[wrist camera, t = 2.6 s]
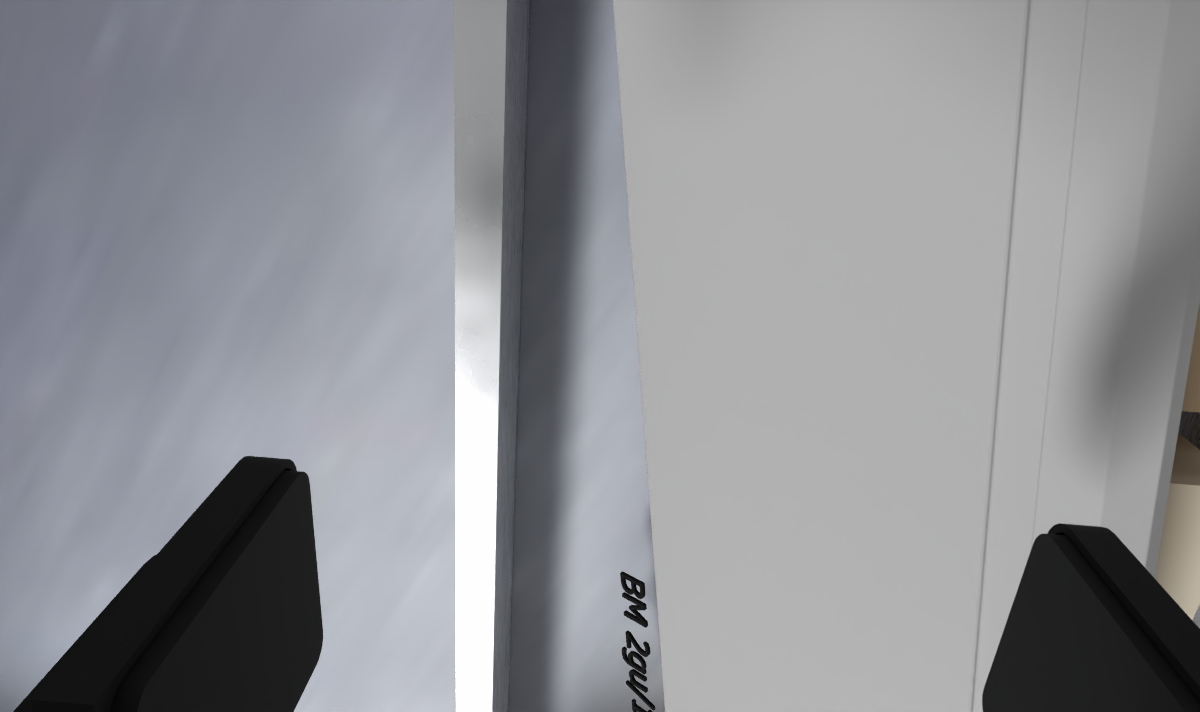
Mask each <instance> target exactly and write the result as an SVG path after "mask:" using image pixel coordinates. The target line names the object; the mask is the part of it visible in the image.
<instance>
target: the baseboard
mask: <svg viewBox="0 0 1200 712" xmlns="http://www.w3.org/2000/svg"><path fill="white" fill-rule="evenodd" d="M613 8H614V21H615V35H616V49H617V62H618V76H619V90H620V103H621V117H622V131H623V144H624V158H625V172H626V185H627V199H628V213H629V226H630V240H631V254H632V267H633V281H634V295H635V308H636V322H637V336H638V349H639V363H640V376H641V390H642V404H643V417H644V431H645V445H646V458H647V472H648V486H649V499H650V513H651V527H652V540H653V554H654V568H655V581H656V595H657V609H658V622H659V636H660V650H661V663H662V677H663V690H664V704H665V712H983V708H982V694H983V690H984V686H985V683H986V680H987V678H988V675H989V672H990V669H991V666H992V663H993V660H994V657H995V654H996V651H997V648H998V645H999V642H1000V639H1001V637H1002V634H1003V631H1004V628H1005V625H1006V622H1007V619H1008V616H1009V613H1010V610H1011V607H1012V604H1013V601H1014V598H1015V596H1016V593H1017V590H1018V587H1019V584H1020V581H1021V578H1022V575H1023V572H1024V569H1025V566H1026V563H1027V560H1028V557H1029V555H1030V552H1031V549H1032V546H1033V543H1034V541H1035V539H1036V538H1037V537H1038V536H1039V535H1040V534H1043V533H1045V534H1047V533H1048V531H1049V530H1050V529H1051V528H1052V527H1053V526H1054V525H1056V524H1059V523H1062V524H1074V525H1086V526H1098V527H1105V528H1108V529H1110V530H1111V531H1112V532H1113V533H1115V535H1116V536H1117V537H1118V538H1119V539H1120V540H1121V541H1122V542H1123V544H1124V545H1125V546H1126V547H1127V548H1128V549H1129V550H1130V551H1131V552H1132V554H1133V555H1134V556H1135V557H1136V558H1137V559H1138V560H1139V561H1140V563H1141V564H1142V565H1143V566H1144V567H1145V568H1146V569H1147V570H1148V571H1149V573H1150V574H1151V575H1152V576H1153V577H1154V578H1155V573H1156V566H1157V560H1158V554H1159V548H1160V542H1161V536H1162V530H1163V523H1164V517H1165V511H1166V505H1167V499H1168V493H1169V487H1170V480H1171V474H1172V468H1173V462H1174V456H1175V450H1176V443H1177V437H1178V431H1179V425H1180V419H1181V413H1182V407H1183V400H1184V394H1185V388H1186V382H1187V376H1188V370H1189V364H1190V357H1191V351H1192V345H1193V339H1194V333H1195V327H1196V320H1197V314H1198V308H1199V302H1200V0H613ZM620 575H621V584H622V587H623V589H624V590H625V592H627V593H628V594H627V593H625V592H624V593H622V597H624V598H625V599H627V600H629V601H631V602H633V603H634V604H636V605H631V606H629V609H630V610H631V611H632V612H633V613H634V614H635V615H636V616H635V615H633V614H631V613H630V612H628V611H624V615H625V616H626V617H628V618H630V619H632V620H633V621H635V622H637V623H638V624H640V625H642V626H644V627H645V628H646V627H647V626H648V621H647V620H646V619H645V618H644V617H643V616H642V615H641V614H640V613H639V612H638V611H637V610H646V609H647V608H646V604H645V603H643V602H641V601H640V600H638V599H636V598H634V597H632V596H630V595H632V594H633V593H634V594H635V595H636V597H637V598H639V599H642V598H643V597H645V583H644V582H642V581H640V580H638V579H636V578H634V577H632V576H630V575H628V574H627V573H625V572H623V571H622V572H621V573H620ZM626 579H627V580H629V581H630V582H631V588H632V589H630V588H629V587H628V586H627V584H626ZM636 585H638V586H640V593H639V592H638V591H637V588H636ZM629 594H630V595H629ZM626 642H627V647H628V648H631V642H632V643H633V645H634V647H635V648H636V650H637V651H638V652H639V653H640V654H641V655H642V656H644V657H647V656H648V655H649V654H650V647H649V644H648V643H647V642H644V643H643V644H644V646H645V651H644V650H643V649H642V648H641V647H640V646H639V644H638V643H637V641H636V640H635V638H634V637H633V635H632V634H631V632H629V631H626ZM626 651H627V648H626V647H623V648H622V656H623V659H624V660H625V662H626V663H627V664H629V665H630V666H632V667H633V668H635V669H636V670H638V671H639V672H641V673H643V674H646V662H645V660H644V659H643V657H642V656H641V655H640V654H638V653H637V652H635V651H631V652H630V653H629V654H628V657H627V653H626ZM633 657H635V658H637V659H638V660H639V661H640V663H641V665H642V667H641V666H639V665H638V664H636V663H635V662H634V660H633ZM636 670H634V669H632V670H631V671H629V676H630V681H629V680H627V681H626V684H627V685H628V686H629V687H630V688H631V689H632V690H633V691H634V692H635V693H636V694H637V695H638V696H639V697H640V698H641V699H642V700H643V701H644V702H645V703H646V704H647V705H648V706H649V707H650V708H651V709H652V710H655V706H654V705H653V704H652V703H651V702H650V701H649V700H648V699H647V698H646V697H645V696H644V695H643V694H642V693H641V692H640V691H639V690H638V689H637V688H636V687H638V688H639V689H641V690H642V691H644V692H645V693H646V692H648V688H647V687H645V686H644V685H642V684H640V683H639V682H637V681H636V680H635V678H634V675H635V676H637V677H638V678H640V679H641V680H643V681H644V682H645V681H647V677H646V676H644V675H643V674H641V673H639V672H638V671H636ZM634 685H635V686H636V687H635V686H634ZM632 709H633V712H637V711H638V712H647V711H646V710H644V709H643V708H641V707H640V706H638V705H637V704H636V700H635V699H633V700H632ZM648 712H652V711H651V710H649V711H648Z"/></svg>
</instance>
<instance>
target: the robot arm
mask: <svg viewBox="0 0 1200 712" xmlns="http://www.w3.org/2000/svg"><path fill="white" fill-rule="evenodd" d="M322 642H323V628H322V617H321V605H320V594H319V583H318V572H317V560H316V549H315V538H314V527H313V516H312V504H311V493H310V483H309V478H308V475H307V474H306V473H305V472H298V471H297V470H296V467H295V464H294V462H293V461H291V460H290V459H278V458H266V457H254V456H246V457H244V458H242V459H241V460H240V461H239V462H238V463H237V464H236V465H235V467H234V468H233V469H232V470H231V471H230V472H229V473H228V474H227V476H226V477H225V478H224V479H223V480H222V481H221V482H220V484H219V485H218V486H217V487H216V488H215V489H214V490H213V492H212V493H211V494H210V495H209V496H208V497H207V498H206V499H205V501H204V502H203V503H202V504H201V505H200V506H199V507H198V509H197V510H196V511H195V512H194V513H193V514H192V515H191V517H190V518H189V519H188V520H187V521H186V522H185V523H184V525H183V526H182V527H181V528H180V529H179V530H178V531H177V532H176V534H175V535H174V536H173V537H172V538H171V539H170V540H169V542H168V543H167V544H166V545H165V546H164V547H163V548H162V550H161V551H160V552H159V553H158V554H157V555H155V556H153V557H152V558H151V559H150V560H148V561H147V562H146V563H145V564H144V565H143V566H142V567H141V568H140V570H139V571H138V572H137V573H136V574H135V575H134V576H133V577H132V579H131V580H130V581H129V582H128V583H127V584H126V585H125V586H124V588H123V589H122V590H121V591H120V592H119V593H118V594H117V595H116V597H115V598H114V599H113V600H112V601H111V602H110V603H109V605H108V606H107V607H106V608H105V609H104V610H103V611H102V612H101V614H100V615H99V616H98V617H97V618H96V619H95V620H94V621H93V623H92V624H91V625H90V626H89V627H88V628H87V629H86V630H85V632H84V633H83V634H82V635H81V636H80V637H79V638H78V639H77V641H76V642H75V643H74V644H73V645H72V646H71V647H70V648H69V650H68V651H67V652H66V653H65V654H64V655H63V656H62V657H61V659H60V660H59V661H58V662H57V663H56V664H55V665H54V666H53V668H52V669H51V670H50V671H49V672H48V673H47V674H46V676H45V677H44V678H43V679H42V680H41V681H40V682H39V683H38V685H37V686H36V687H35V688H34V689H33V690H32V691H31V692H30V694H29V695H28V696H27V697H26V698H25V699H24V700H23V701H22V703H21V704H20V705H19V706H18V707H17V708H16V709H15V710H14V712H294V709H295V707H296V705H297V703H298V701H299V699H300V697H301V695H302V693H303V691H304V689H305V687H306V685H307V683H308V681H309V679H310V677H311V675H312V673H313V671H314V669H315V667H316V665H317V662H318V660H319V657H320V653H321V649H322ZM982 708H983V712H1200V628H1199V627H1198V626H1197V625H1196V624H1195V623H1194V622H1193V621H1192V620H1191V618H1190V617H1189V616H1188V615H1187V614H1186V613H1185V612H1184V611H1183V609H1182V608H1181V607H1180V606H1179V605H1178V604H1177V603H1176V602H1175V601H1174V599H1173V598H1172V597H1171V596H1170V595H1169V594H1168V593H1167V592H1166V590H1165V589H1164V588H1163V587H1162V586H1161V585H1160V584H1159V583H1158V582H1157V580H1156V579H1155V578H1154V577H1153V576H1152V575H1151V574H1150V573H1149V571H1148V570H1147V569H1146V568H1145V567H1144V566H1143V565H1142V564H1141V563H1140V561H1139V560H1138V559H1137V558H1136V557H1135V556H1134V555H1133V554H1132V552H1131V551H1130V550H1129V549H1128V548H1127V547H1126V546H1125V545H1124V544H1123V542H1122V541H1121V540H1120V539H1119V538H1118V537H1117V536H1116V535H1115V533H1113V532H1112V531H1111V530H1110V529H1108V528H1105V527H1098V526H1086V525H1074V524H1062V523H1059V524H1056V525H1054V526H1053V527H1052V528H1051V529H1050V530H1049V531H1048V533H1047V534H1045V533H1043V534H1040V535H1039V536H1038V537H1037V538H1036V539H1035V541H1034V543H1033V546H1032V549H1031V552H1030V555H1029V557H1028V560H1027V563H1026V566H1025V569H1024V572H1023V575H1022V578H1021V581H1020V584H1019V587H1018V590H1017V593H1016V596H1015V598H1014V601H1013V604H1012V607H1011V610H1010V613H1009V616H1008V619H1007V622H1006V625H1005V628H1004V631H1003V634H1002V637H1001V639H1000V642H999V645H998V648H997V651H996V654H995V657H994V660H993V663H992V666H991V669H990V672H989V675H988V678H987V680H986V683H985V686H984V690H983V694H982Z"/></svg>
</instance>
